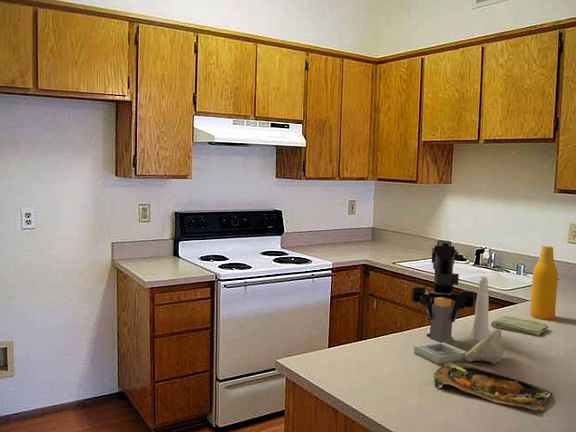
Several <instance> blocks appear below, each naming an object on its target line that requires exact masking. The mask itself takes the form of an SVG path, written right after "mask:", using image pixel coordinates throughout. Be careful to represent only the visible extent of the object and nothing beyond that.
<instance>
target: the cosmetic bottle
mask: <svg viewBox="0 0 576 432" xmlns="http://www.w3.org/2000/svg"><path fill="white" fill-rule="evenodd" d="M488 288H489V280H488V276H485V275H482V276H480V279H479V283H478V292H477V294H476V300H475V309H474V310H475V311H474V319H473V327H472V332H471V336H470V339H471V340H473V341H475V342H478V343H479V342H480V341H481V340H483V339H485V338H486V337H487V336H489V334H490V332H489V293H488Z"/></svg>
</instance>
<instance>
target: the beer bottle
mask: <svg viewBox="0 0 576 432" xmlns="http://www.w3.org/2000/svg"><path fill="white" fill-rule="evenodd" d="M539 253H540V254H539V259H538V261H537V262H536V264H535V267H534V268H533V271H532V284H531V295H530V296H531V297H530V308H529V314H530V316H531V317H532V318H535V319H540V320H548V321H549V320H550V321H551V320H553V319H555V316H556V305H557V303H556V302H557V291H558V280H559V279H558V278H559V274H558V270H557V269H558V268H557V267H556V266H557V265H556V264H555V260H554V246H551V245H541V248H540V252H539Z"/></svg>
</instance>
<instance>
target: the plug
mask: <svg viewBox="0 0 576 432" xmlns="http://www.w3.org/2000/svg"><path fill="white" fill-rule="evenodd" d="M451 301H452V302H453V300H452V299H449V298H445V297H438V298H434V304H432V318H431V320H430V325H431V335H430V337H429V339H430V340H433V341H435V342H440V343H443V342H444V343H447V342H448V343H449V342H451V341H452V339H451V337H452V332H453V331H452V329H453V323H452V316H453V306H452V305H453V304H452V305H451Z"/></svg>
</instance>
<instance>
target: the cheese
mask: <svg viewBox="0 0 576 432" xmlns="http://www.w3.org/2000/svg"><path fill="white" fill-rule="evenodd" d="M501 337H502V329H499V328H497V329H494V330H492V331H491V332H490V333H489V336H487V337H486V338H485V339H483V340H481V341H480V342H479V341H478V343H476V345H474V346H473V347H472V348H471V349H470V350H469V351H468V352H466V355H465V359H466V360H465V361H467V362H469V363H470V362H471V363H472V362H479V361H480V362H487V363H490V364H493V365H494V364H497V362H500V360H501V359H502V357H503V355H504V353H503V348H504V347H503V342H502V341H501V340H500V338H501Z"/></svg>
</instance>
